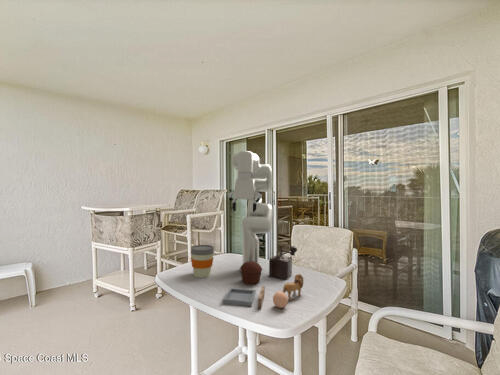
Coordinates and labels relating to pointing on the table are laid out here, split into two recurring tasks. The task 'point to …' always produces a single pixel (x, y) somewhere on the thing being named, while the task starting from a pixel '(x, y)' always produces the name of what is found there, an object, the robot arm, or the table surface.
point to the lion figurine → (294, 286)
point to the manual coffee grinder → (281, 264)
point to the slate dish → (239, 297)
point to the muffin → (251, 273)
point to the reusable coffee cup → (202, 260)
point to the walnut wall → (261, 297)
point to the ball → (280, 299)
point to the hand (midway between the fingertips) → (244, 211)
